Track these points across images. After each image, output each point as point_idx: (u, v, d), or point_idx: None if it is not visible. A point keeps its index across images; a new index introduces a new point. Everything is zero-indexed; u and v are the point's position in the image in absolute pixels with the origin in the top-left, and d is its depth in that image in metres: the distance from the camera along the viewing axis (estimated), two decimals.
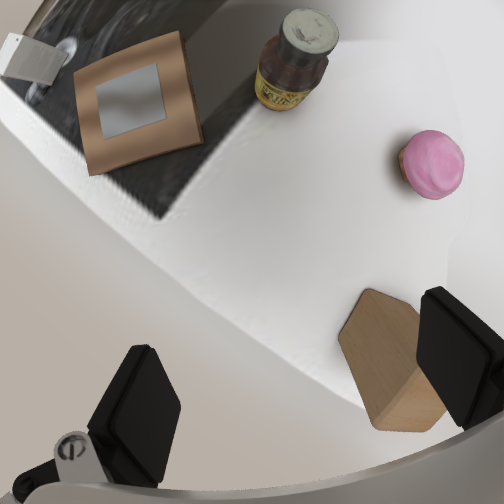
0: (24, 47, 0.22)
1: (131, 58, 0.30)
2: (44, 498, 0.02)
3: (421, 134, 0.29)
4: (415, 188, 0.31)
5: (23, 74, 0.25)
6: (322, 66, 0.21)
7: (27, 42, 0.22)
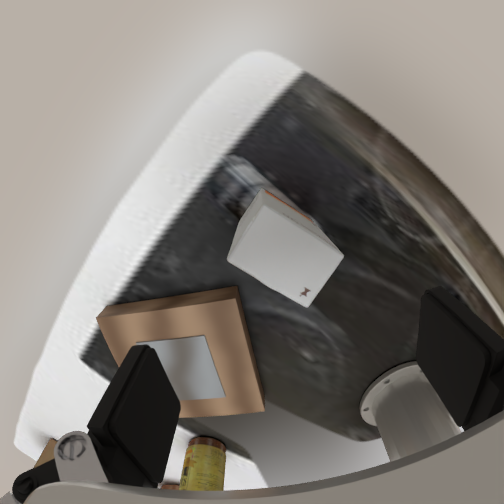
0: None
1: (237, 373, 0.31)
2: (44, 498, 0.02)
3: None
4: None
5: None
6: None
7: None
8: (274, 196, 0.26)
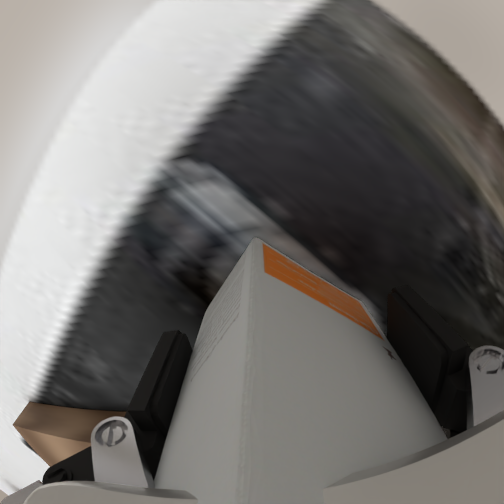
0: None
1: None
2: (44, 498, 0.02)
3: None
4: None
5: None
6: None
7: None
8: (286, 266, 0.10)
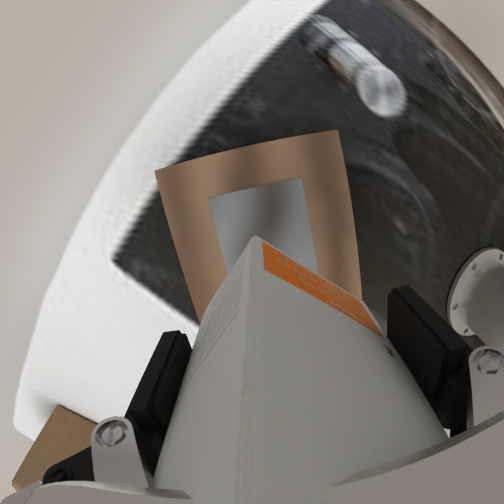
0: None
1: (336, 236, 0.26)
2: (44, 498, 0.02)
3: None
4: None
5: None
6: None
7: None
8: (286, 264, 0.10)
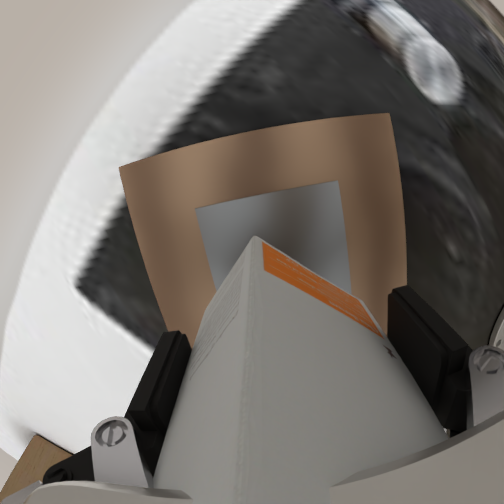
0: None
1: (380, 267, 0.17)
2: (44, 498, 0.02)
3: None
4: None
5: None
6: None
7: None
8: (286, 264, 0.10)
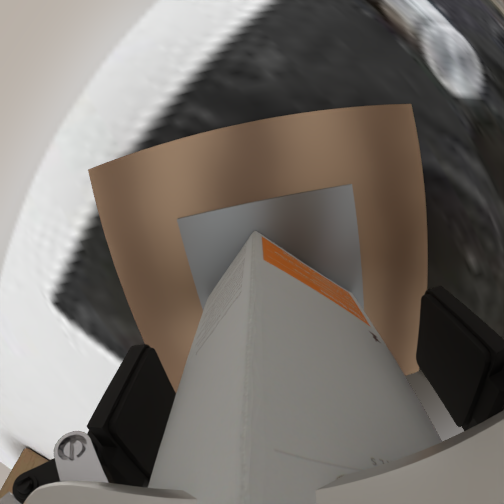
0: None
1: (398, 287, 0.14)
2: (44, 498, 0.02)
3: None
4: None
5: None
6: None
7: None
8: (283, 257, 0.12)
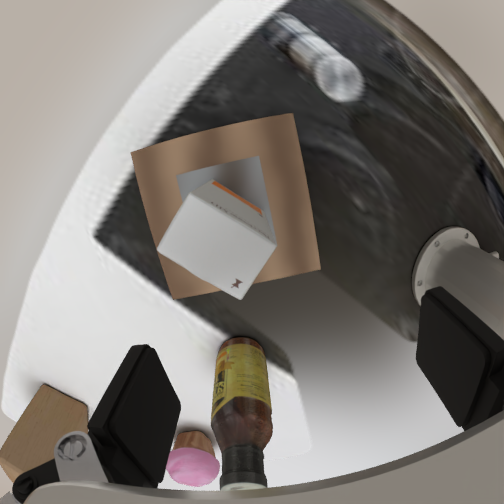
0: None
1: (292, 209, 0.29)
2: (44, 498, 0.02)
3: (211, 462, 0.36)
4: None
5: None
6: None
7: None
8: (223, 187, 0.26)
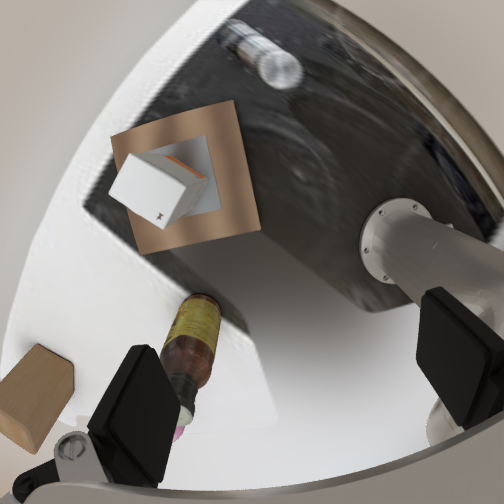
0: None
1: (233, 177, 0.34)
2: (44, 498, 0.02)
3: None
4: None
5: None
6: None
7: None
8: (174, 159, 0.31)
